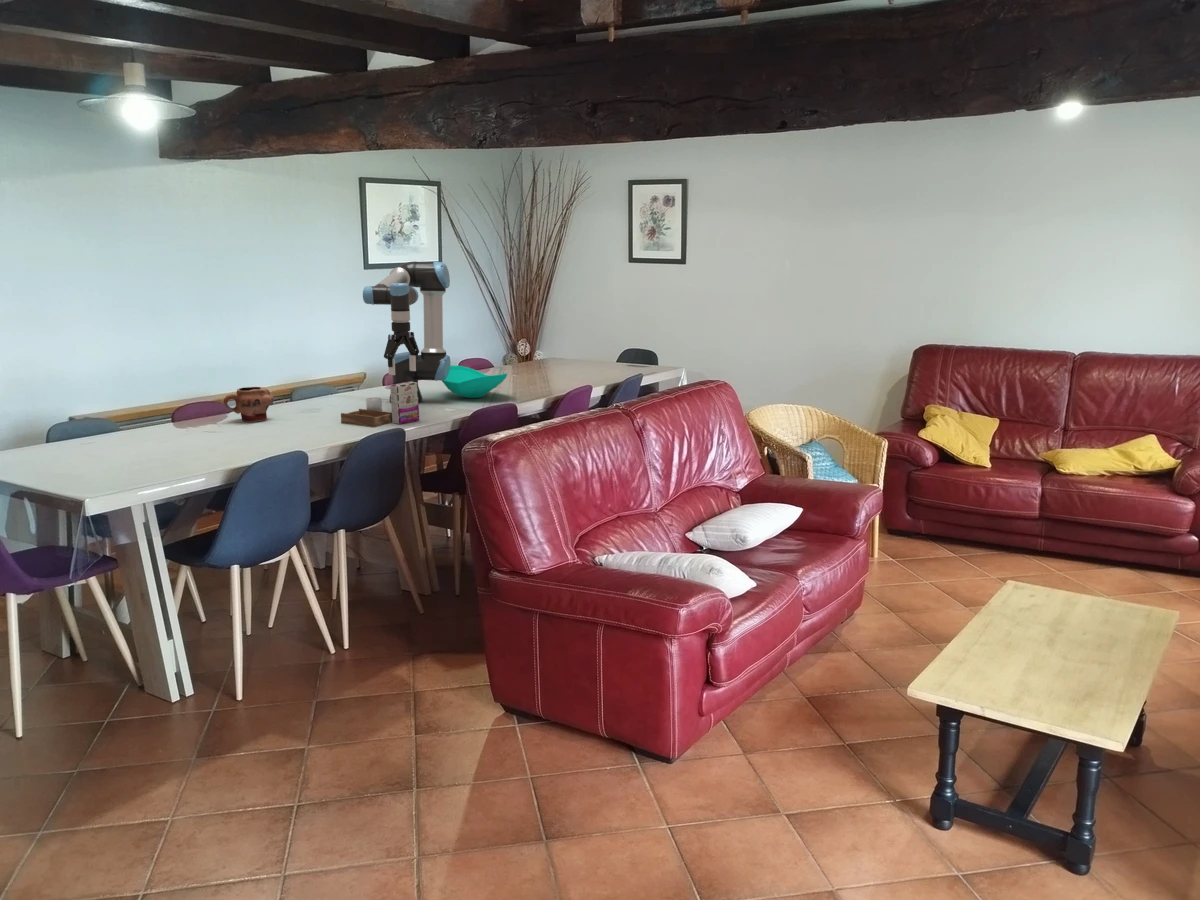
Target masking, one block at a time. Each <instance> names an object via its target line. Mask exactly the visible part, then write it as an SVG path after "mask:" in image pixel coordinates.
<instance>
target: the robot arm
mask: <svg viewBox="0 0 1200 900" xmlns="http://www.w3.org/2000/svg"><path fill="white" fill-rule="evenodd" d="M450 278H451V277H450V273H449V269H448V266H447V264H446V263H444V262H441V261H416V260H415V261H407V262H404V263H402V264H400V265H397V266H396V267H394V268H393V269H392V270H391V271H390V273H389V275H386V277H384V278H383V279H381V281H379V282H378V283H376V284H375V285H369V286H368V285H366V286H364V287H363V290H362V300H363V302H364V304H366V305H373V306H374V305H377V306H378V305H387V306H389V305H390V314H391V316H390V318H391V321H392V322H391V323H390V324H391V331H392V332H393V334H388V336H387V343H386V347H385V350H384V353H383V358H384V359H385V360H387V367H388V375H389V376H391V377H392V385H393V384H399V383H404V382H417V384H418V404H420V403H422V402H423V395H422V392H421V389H420V386H419V381H434V382H438V381H441V380H445V379H446V378H447V377H448V374H449V371H450V366H451V363H452V362H451V357H450V355H447V351H446V349H445V348H444V342H443V341H444V331H443V330H444V329H443V328H444V324H443V321H444V319H443V318H444V316H443V313H444V312H443V310H444V309H443V296H444V295H445V293H446V291H447V290H446V289H448V288H449V287H450V286H451V285H450V283H451V279H450ZM416 288H419V292H420V293H421V294H422V295H423V349H421V351H420V348H419V347H418V344H417V341H416V338H415V333H414V331H411V322H410V321H411V314H410V313H411V310H410V308H411V307H410V306H412V305H413V304H416V303H417V301H418V300H419V292H418V290H417V289H416ZM402 345H404V346H405V348H406V350H407V351H405V352H404V351H403V352H400V353H399V352H398V353H397V351H398V349H399V347H400V346H402ZM389 403H390V404H391V393H390V396H389Z"/></svg>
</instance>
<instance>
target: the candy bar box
mask: <svg viewBox="0 0 1200 900" xmlns="http://www.w3.org/2000/svg"><path fill="white" fill-rule="evenodd" d="M389 385H390V386H389V388H390V394H391V403H390V406H391V412H392V422H391V423H393V424H395V425H402V424H408V423H413V422H418V421H420V411H419V410H420V408H419V404H420V403H418V386H419V383H418V384H417V382H404V383H399V384H393V383H392V384H389Z"/></svg>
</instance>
